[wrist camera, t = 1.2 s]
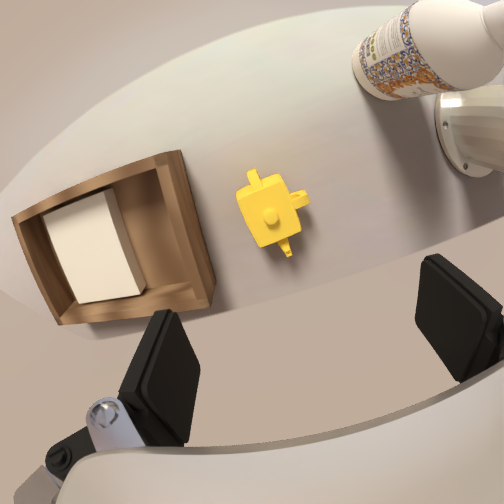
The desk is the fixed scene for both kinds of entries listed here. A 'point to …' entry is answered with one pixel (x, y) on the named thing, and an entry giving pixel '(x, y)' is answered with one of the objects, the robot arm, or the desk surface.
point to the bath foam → (432, 50)
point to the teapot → (271, 210)
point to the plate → (95, 248)
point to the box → (141, 238)
